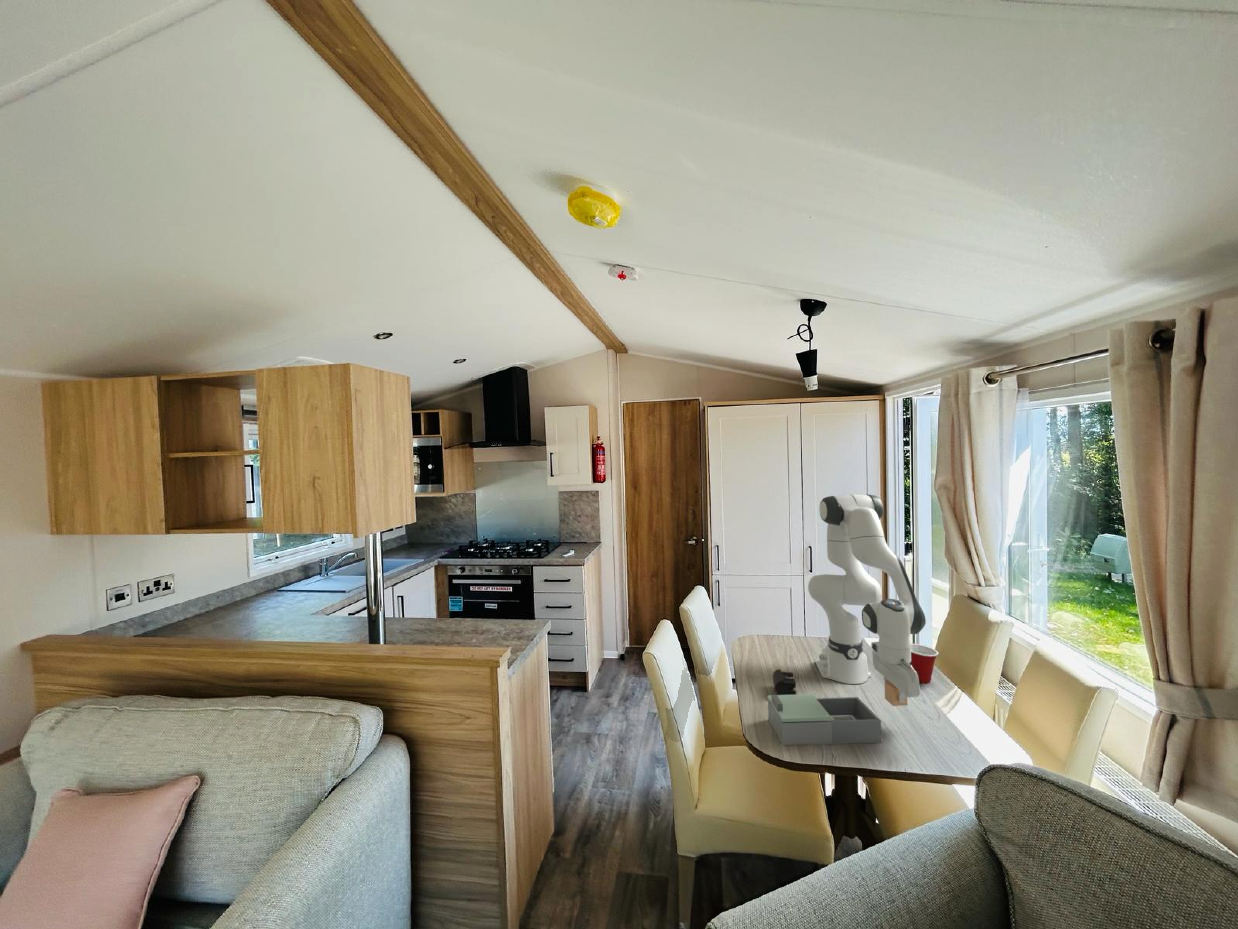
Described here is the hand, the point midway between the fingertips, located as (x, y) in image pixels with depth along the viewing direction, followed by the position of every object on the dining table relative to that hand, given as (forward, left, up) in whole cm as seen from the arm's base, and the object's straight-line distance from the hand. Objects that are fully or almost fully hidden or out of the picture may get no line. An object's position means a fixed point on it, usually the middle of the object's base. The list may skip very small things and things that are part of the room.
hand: (895, 696), depth 154 cm
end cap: (-24, -27, -10) cm, 38 cm away
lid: (+1, -31, -3) cm, 31 cm away
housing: (+1, -24, -10) cm, 25 cm away
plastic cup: (-31, +27, -10) cm, 42 cm away
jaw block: (0, 0, -2) cm, 2 cm away
